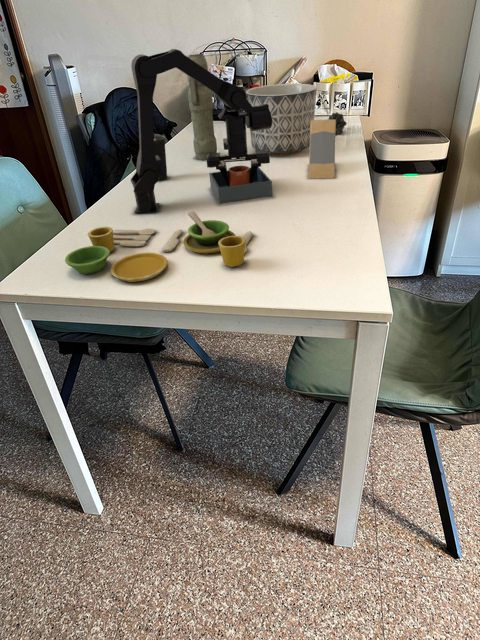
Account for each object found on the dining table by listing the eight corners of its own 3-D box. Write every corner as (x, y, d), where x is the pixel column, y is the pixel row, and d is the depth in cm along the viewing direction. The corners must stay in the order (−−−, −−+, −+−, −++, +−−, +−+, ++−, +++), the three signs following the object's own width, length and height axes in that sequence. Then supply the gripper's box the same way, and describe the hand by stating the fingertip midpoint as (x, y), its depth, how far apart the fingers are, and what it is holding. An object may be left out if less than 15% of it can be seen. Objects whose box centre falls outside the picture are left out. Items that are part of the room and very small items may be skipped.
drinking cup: (167, 182, 154) (157, 120, 142) (146, 182, 155) (134, 120, 144) (174, 175, 160) (165, 115, 148) (154, 175, 161) (143, 115, 150)
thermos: (191, 161, 173) (178, 57, 153) (199, 153, 182) (188, 54, 162) (214, 161, 171) (203, 55, 151) (220, 152, 181) (211, 52, 161)
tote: (272, 197, 135) (271, 181, 132) (219, 205, 133) (218, 188, 130) (258, 181, 148) (258, 166, 145) (210, 188, 146) (209, 172, 143)
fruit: (330, 106, 198) (330, 112, 185) (348, 112, 198) (349, 118, 186) (323, 126, 203) (323, 133, 190) (340, 132, 203) (341, 139, 191)
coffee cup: (250, 194, 137) (249, 171, 133) (230, 195, 138) (228, 172, 134) (250, 187, 143) (248, 164, 139) (230, 188, 143) (228, 166, 139)
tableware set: (259, 234, 114) (258, 210, 111) (235, 290, 92) (233, 263, 89) (111, 229, 123) (105, 207, 119) (57, 280, 101) (48, 255, 97)
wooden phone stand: (308, 178, 147) (309, 130, 139) (309, 165, 160) (310, 119, 151) (335, 178, 146) (337, 129, 137) (333, 164, 158) (336, 118, 150)
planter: (275, 164, 163) (274, 97, 150) (236, 151, 181) (232, 91, 169) (328, 149, 174) (331, 86, 161) (287, 138, 192) (286, 81, 180)
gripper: (266, 125, 137) (268, 176, 146) (206, 129, 137) (211, 180, 146) (269, 133, 128) (270, 187, 136) (204, 138, 128) (209, 191, 137)
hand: (240, 186), depth 139 cm, fingers closed on coffee cup, 6 cm apart
